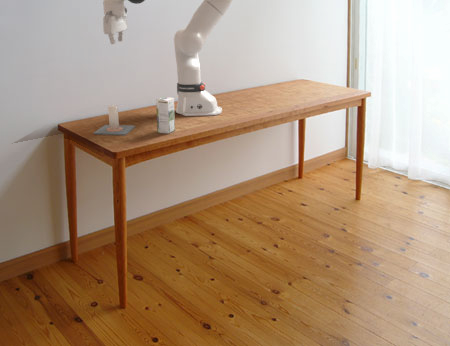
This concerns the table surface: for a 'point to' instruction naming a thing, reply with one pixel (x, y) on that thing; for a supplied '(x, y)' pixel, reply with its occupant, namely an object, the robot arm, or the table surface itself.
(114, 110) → the tube
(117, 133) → the card
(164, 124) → the syrup box
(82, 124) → the table surface
